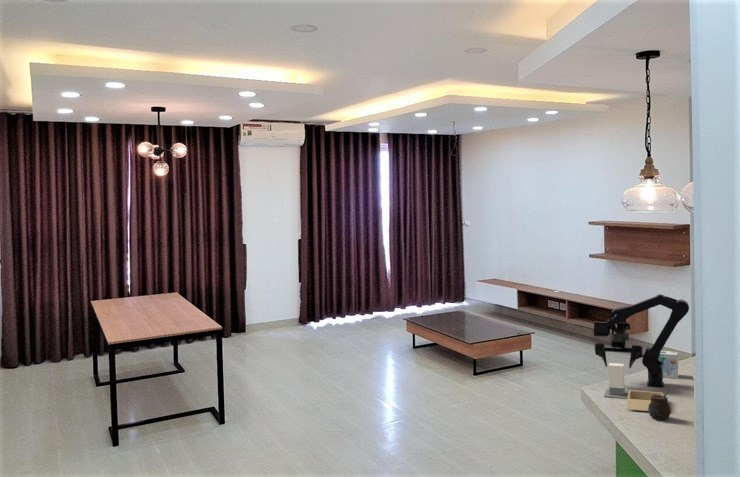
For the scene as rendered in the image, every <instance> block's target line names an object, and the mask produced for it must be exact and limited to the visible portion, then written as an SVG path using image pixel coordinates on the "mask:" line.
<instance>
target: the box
mask: <svg viewBox="0 0 740 477" xmlns="http://www.w3.org/2000/svg"><path fill="white" fill-rule="evenodd" d="M608 381H609V382H608V383H609V384H608V386H609V389H608V390H609V392H610V395H620V396H624V394H625V391H626V388H625V386H626V385H625V364H624V363H617V362H609V364H608Z"/></svg>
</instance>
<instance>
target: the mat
mask: <svg viewBox="0 0 740 477" xmlns="http://www.w3.org/2000/svg"><path fill="white" fill-rule="evenodd" d="M628 393H629V390H625V394H624V396H620V395H610V392H609V389H605V392H604V396H603V397H604V398H613V399H621V400H622V399H623V400H627V398H628Z"/></svg>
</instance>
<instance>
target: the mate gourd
mask: <svg viewBox="0 0 740 477" xmlns="http://www.w3.org/2000/svg"><path fill="white" fill-rule="evenodd" d="M669 392H670V390H669V389H667V391H666V392H665V393H664V394H663V395H651V402H650V404H649V407H648V411H647V412H648V414H649V417H651V418H652V419H653V420H656V421H666V420H667V419H670V416H671V412H672V410H671V407H670V404H669V402H668V396H667V395H668V394H669Z"/></svg>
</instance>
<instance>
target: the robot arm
mask: <svg viewBox="0 0 740 477" xmlns="http://www.w3.org/2000/svg"><path fill="white" fill-rule="evenodd" d="M659 305H660V306H662V307H664V308H667V309H670V310H671V312H670V314H669V318H668V319H667V321H666V323H665V324H664V326H663V328H662V330H661V331H660V333H659V334H658V336H657V338H656V339H655V341H654V343H653V344H652V345H651V346H650V347H649V346H648V345H646V347H645V351H643V346H642V345H641V344H640V345H639V344H632V345H631V347H627V346H626V343H627V342H630V335H629V334H630V333H629V332H627V331H631V329H632V327H631V324H630V323H628V322H627V321H626V320H627V319H629V318H630V317H632V316H633V315H636V314H638V313H642V312H644V311H646V310H650V309H652V308H654V307H657V306H659ZM689 310H690V305H689V303H688V302H687V301H686V300H685V299H676V298H673V297H669V296H665V294H662V293H659V294H657V295H655V296H653V297H649V298H648V299H645V300H642V301H640V302H637V303H634V304H632V305H626V306H622V307H621V306H619V307H616V308H614V309H613V310H612V311H611V312H610V316H609V317H610V318H609V319H608V320H606V321H597V320H596V321H593V337H594V338H609V336H611V338H610V346H606V344H605V343H601V342H596V343H595V344H594V352H595V356H598V357H599V358H601V360H602V361H603V363H604V366H605V367H606V368H607V366H608V364H607V361H608V360H607V355H606V352H609V353H621V354H622V353H624V354H630V357H629V364H628V365H629V366H628V368H629V369H631V368H632V367H633V365H634V363H635V362H636V361H637V360H639V359H641V362H642V365H643V366H644V367H645V368H646V369H647V381H646V386H647V387H656V388H657V387H661V388H663V387H664V386H665V382H664V380H663V378H664V377H663V371H662V367H663V364H662V363H661V362H660V361H659V360H658V358H659V355H660V352H661V351H663V348H664V347H665V345H666V344H667V342H668V340H669V338H670V336H671V334H672V333H673V331H674V330H675V329H676V326H677V325H678V323H680V321H681V320H683V318H684V317H685V316H686V315H687V314H688V312H689ZM624 321H625V322H624Z"/></svg>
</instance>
